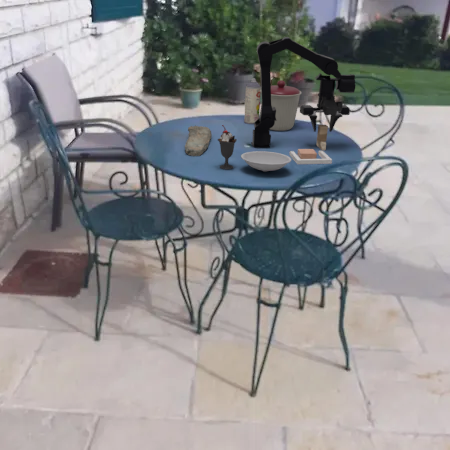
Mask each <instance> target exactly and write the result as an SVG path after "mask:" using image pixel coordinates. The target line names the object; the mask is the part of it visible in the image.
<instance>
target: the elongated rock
mask: <svg viewBox="0 0 450 450" xmlns="http://www.w3.org/2000/svg"><path fill="white" fill-rule="evenodd" d="M187 131H188V135H187V136H188V138H187V140H186V141H185V145H184V150H185V154H186V155H188V156H189V157H190V156H191V157H200V156H202V155H203V154H204V152H205V151H206V150H207V148H209V144H210V141H211V139H212V136H213V135H212V130H211V129H210V127H208V126H198V125H194V126H193V125H190V126H189V127H188V128H187Z"/></svg>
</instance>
